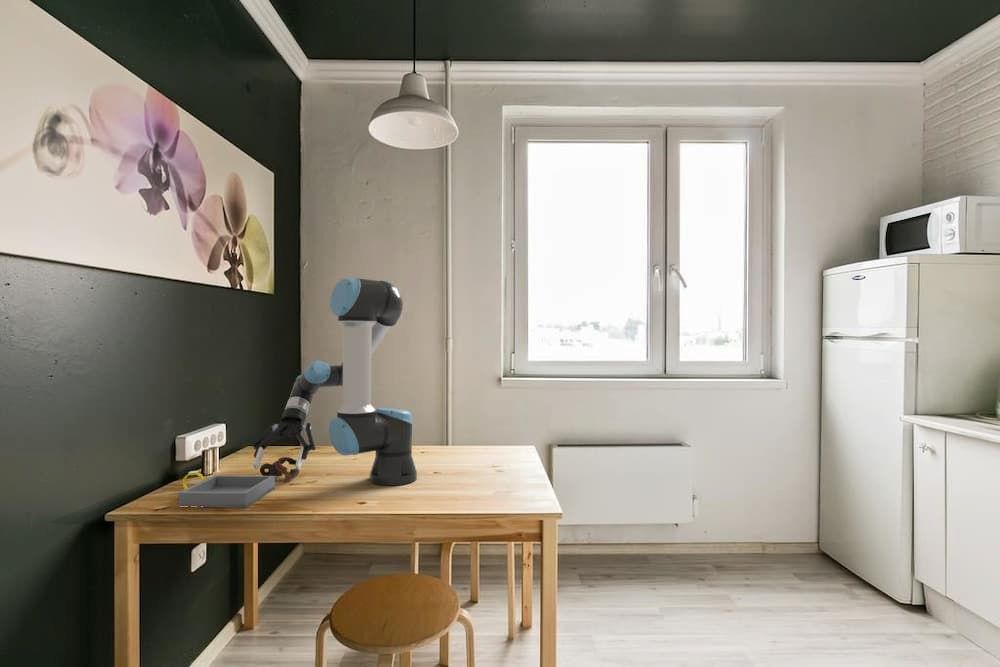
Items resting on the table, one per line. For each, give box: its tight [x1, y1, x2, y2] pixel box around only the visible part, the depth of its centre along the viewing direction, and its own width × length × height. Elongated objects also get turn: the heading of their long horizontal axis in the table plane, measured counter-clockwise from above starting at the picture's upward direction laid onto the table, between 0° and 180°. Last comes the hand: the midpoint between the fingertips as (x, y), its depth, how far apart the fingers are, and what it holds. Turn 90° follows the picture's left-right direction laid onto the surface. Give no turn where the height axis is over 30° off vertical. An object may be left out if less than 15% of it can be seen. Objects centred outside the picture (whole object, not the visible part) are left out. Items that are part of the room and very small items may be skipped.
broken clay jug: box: [259, 456, 300, 483], centre depth 174 cm, size 12×10×8 cm
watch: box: [182, 470, 206, 490], centre depth 162 cm, size 6×3×6 cm, turn 93°
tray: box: [177, 474, 276, 509], centre depth 156 cm, size 18×18×4 cm
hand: (276, 467), depth 171 cm, fingers open, 13 cm apart
